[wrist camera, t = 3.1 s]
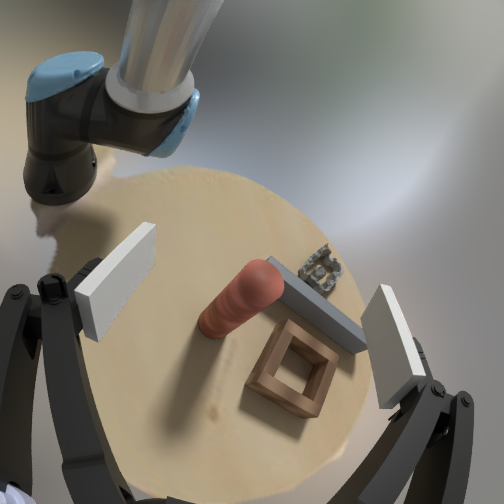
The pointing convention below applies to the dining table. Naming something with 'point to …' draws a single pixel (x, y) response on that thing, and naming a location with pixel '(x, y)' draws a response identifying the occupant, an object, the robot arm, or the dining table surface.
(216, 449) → the dining table surface
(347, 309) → the dining table surface
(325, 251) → the grey rough frame
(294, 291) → the backstop wall
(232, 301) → the dowel
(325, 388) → the socket block
